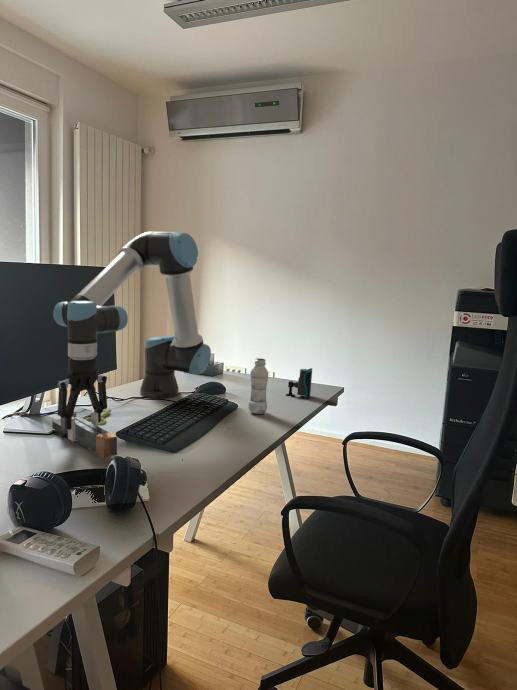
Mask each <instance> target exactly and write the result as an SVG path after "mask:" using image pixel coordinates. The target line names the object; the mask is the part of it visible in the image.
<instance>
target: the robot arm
mask: <svg viewBox="0 0 517 690" xmlns="http://www.w3.org/2000/svg"><path fill="white" fill-rule="evenodd" d="M197 245H198V244H197V242H196V240H195V239H194V238H193V236H191V234H189V233H187V232H180V231H151V230H150V231H145V232H143V233H140V234H139V235H137V236H135V237H133V238H132V239H131V240H129V241H128V242H127V243H125V244H124V245H123V246H122V247H121V248H120V249H119V250H118V254H117V256H116V257H115V258H114V259H113V260H112V261H111V262H110V263H109V264H108V265H107V266H105V267H104V268H103V269H102V270H101V271H100V272H99V273H98V274H97V275H96V276H95V277H94V278H93V279H92V280H91V281H90V282H89V283H88V284H87V285H85V286H84V288H83V289H82V290H80V292H78V294H76V295H75V296H74V297H73V298H72V299H71V300H70V301H67V300H66V301H61V302H58V303H56V304H55V306H54V308H53V312H52V316H53V317H52V318H53V319H54V321H55V323H56V324H57V325H59V326H60V327H61V326H62V327H66V328H67V357H68V359H67V361H68V363H67V368H68V369H67V371H68V375H67V378H66V379H63V380H58V381H57V382H56V384H57V387H58V398H57V399H58V400H57V416H59V417H60V418H61V417H62V418H65V428H66V429H68V440H70V441H71V442H75V441H76V440H75V418H74V417H72V416H73V412H75V410H76V409H75V408H76V405H77V402H78V399H79V396H80V394H81V392H82V391H87V394H88V397H89V399H90V400H89V401H90V402H91V405H92V408H93V411H91V412H90V417H91V420H90V423H92V424H94V425H96V426H98V427H99V425H98V423H101V422H102V421H101V414H103V413H104V412H103V410H104V409H105V410H108V401H107V400H108V398H107V386H106V385H107V380H108V377H107V376H106V375H103V374H98V372H97V371H98V358H97V357H96V356H98V335H99V334H105V333H115V332H118V331H122V330H123V329H125V328H126V327H127V324H128V322H129V321H128V320H129V317H128V316H129V315H128V312H127V311H126V310H125V308H123V307H122V306H120V305H106V306H105V305H104V304H105V303H106V302H107V301H108V300H109V299H110V298H111V297H112V296H113V294H115V292H117V290H119V288H120V287H122V285H123V284H124V283H125V282H127V280H128V279H130V277H132V275H133V274H134V273H135V272H139V271H141V270H142V269H143V268H144V267H147V266H151V265H152V266H158V268H159V273H160V274H161V275H162V276H164V278H165V282H166V289H167V294H168V301H169V306H170V313H171V318H172V325H173V331H174V335H160V336H152V337H149V338H146V340H145V347H144V376H143V379H142V382H141V385H140V387H139V388H140V389H139V394H140V395H141V396H142V397H146V398H150V399H168V398H173V397H176V396H178V395H179V393H180V392H179V391H180V389H179V384H178V382H177V378H176V376H175V374H176V373H175V372H181V373H186V374H187V373H188V374H190V375H193V374H194V375H195V374H196V375H200V374H203V373H204V372H205V371H206V370H207V368H208V366H209V364H210V361H211V355H212V350H211V347H210V346H209V345H208V344H206V343H204V338H203V336H202V335H201V334H199V331H198V324H197V318H196V310H195V303H194V302H195V301H194V296H193V295H194V294H193V289H192V288H193V287H192V280H191V275H190V274H191V273H192V272H193V270H194V266H196V264H197V262H198V256H199V252H198V251H199V250H198V246H197ZM96 382H97V392H96V387H95V383H96ZM69 385H70V386H71V387H70V391H69V392H70V394H69V396H68V388H69ZM97 393H98V396H97Z"/></svg>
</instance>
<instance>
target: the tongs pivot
mask: <svg viewBox="0 0 517 690" xmlns="http://www.w3.org/2000/svg"><path fill="white" fill-rule="evenodd" d="M72 417H78V416H77V411H74V412H73V416H72ZM51 422H52V423H51V424H52V426H51V428H53V429H55V431H56V432H55V431H54V432H55V433H56V434H58V435H60V438H61V439H68V435H67V429H66V428H65V418H62V417H60V419H59V418H58V419H53V420H52V421H51ZM68 440H69V439H68Z"/></svg>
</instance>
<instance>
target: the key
mask: <svg viewBox="0 0 517 690" xmlns="http://www.w3.org/2000/svg"><path fill="white" fill-rule="evenodd" d="M111 412H112V410H111V408H107V409H104V410H103V412H102V413H101V422H100V423H98V426H103V425H106V424H107V419H106V418H105V417H106V416H107V415H109V414H110V413H111ZM84 419H85V420H87V421H89V422H90V421H91V416H90V417H86V418H84Z"/></svg>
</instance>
